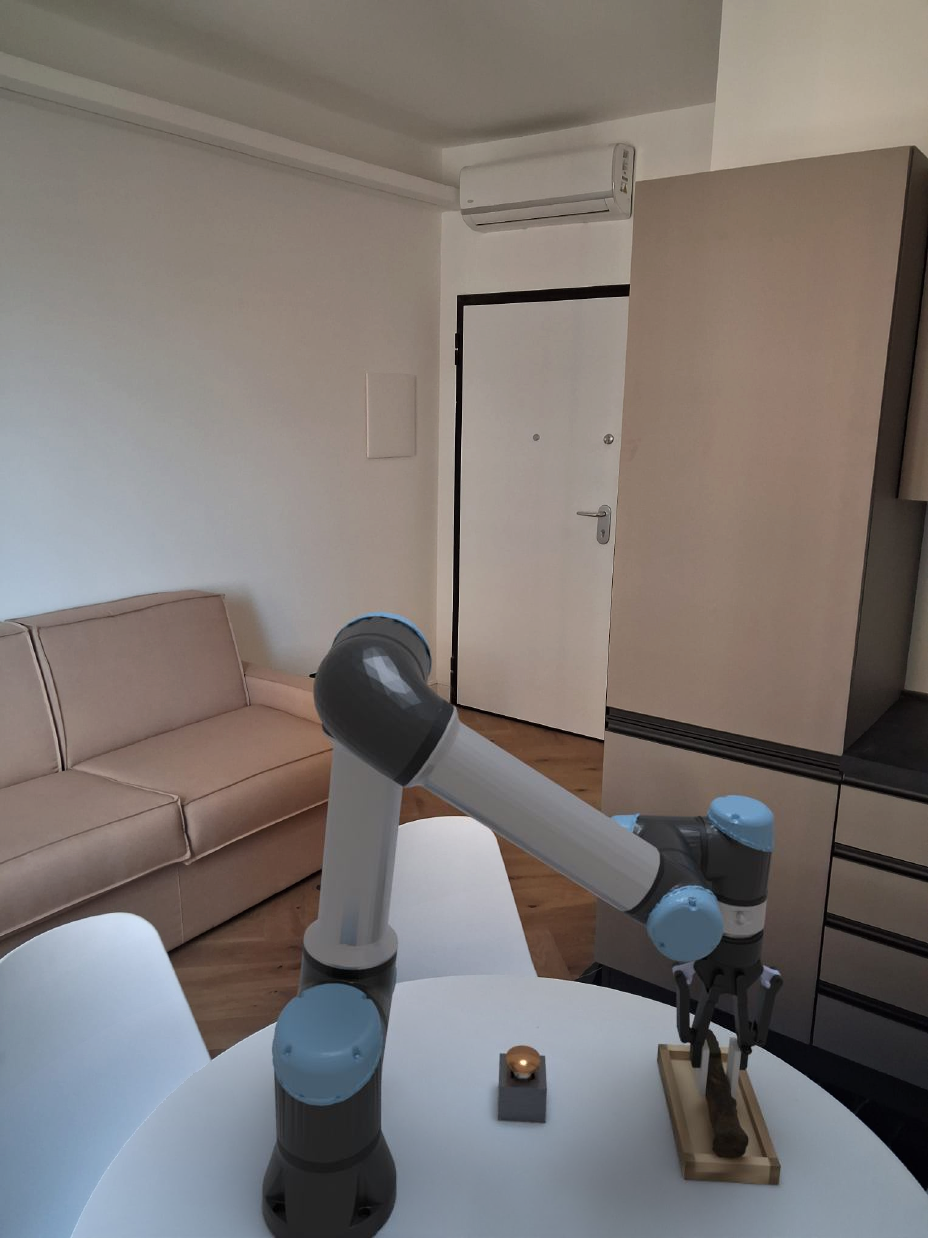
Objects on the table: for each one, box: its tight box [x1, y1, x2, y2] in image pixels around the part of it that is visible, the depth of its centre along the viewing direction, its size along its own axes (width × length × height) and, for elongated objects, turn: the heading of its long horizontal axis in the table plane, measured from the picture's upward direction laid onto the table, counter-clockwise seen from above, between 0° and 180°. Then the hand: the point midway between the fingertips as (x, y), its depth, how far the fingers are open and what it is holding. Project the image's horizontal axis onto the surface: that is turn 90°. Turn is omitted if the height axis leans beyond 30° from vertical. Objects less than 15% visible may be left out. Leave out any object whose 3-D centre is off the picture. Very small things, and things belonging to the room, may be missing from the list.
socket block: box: [497, 1052, 548, 1124], centre depth 117 cm, size 6×6×5 cm
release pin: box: [505, 1044, 541, 1080], centre depth 116 cm, size 4×4×7 cm
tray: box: [656, 1043, 782, 1186], centre depth 115 cm, size 11×20×3 cm, turn 177°
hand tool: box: [705, 1028, 749, 1158], centre depth 114 cm, size 19×4×5 cm, turn 173°
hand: (715, 1087), depth 115 cm, fingers closed on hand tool, 3 cm apart
